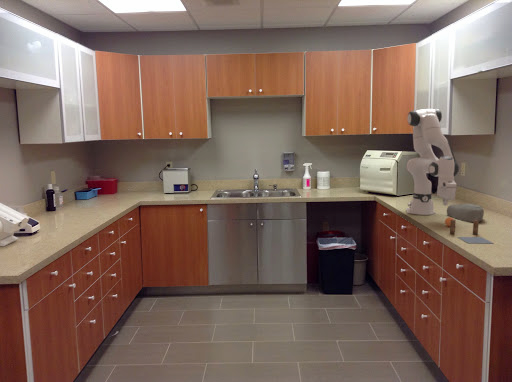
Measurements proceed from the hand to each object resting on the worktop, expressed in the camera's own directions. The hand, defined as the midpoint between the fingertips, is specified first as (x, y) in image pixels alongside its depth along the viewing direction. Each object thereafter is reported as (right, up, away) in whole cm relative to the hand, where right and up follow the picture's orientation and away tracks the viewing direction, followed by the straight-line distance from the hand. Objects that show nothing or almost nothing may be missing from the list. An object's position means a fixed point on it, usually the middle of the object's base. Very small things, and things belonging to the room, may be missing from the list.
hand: (445, 205), depth 273 cm
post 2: (+5, -15, -27) cm, 32 cm away
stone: (+22, -10, +15) cm, 28 cm away
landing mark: (-2, -17, -41) cm, 44 cm away
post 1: (-8, -15, -27) cm, 32 cm away
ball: (0, -10, -8) cm, 12 cm away
